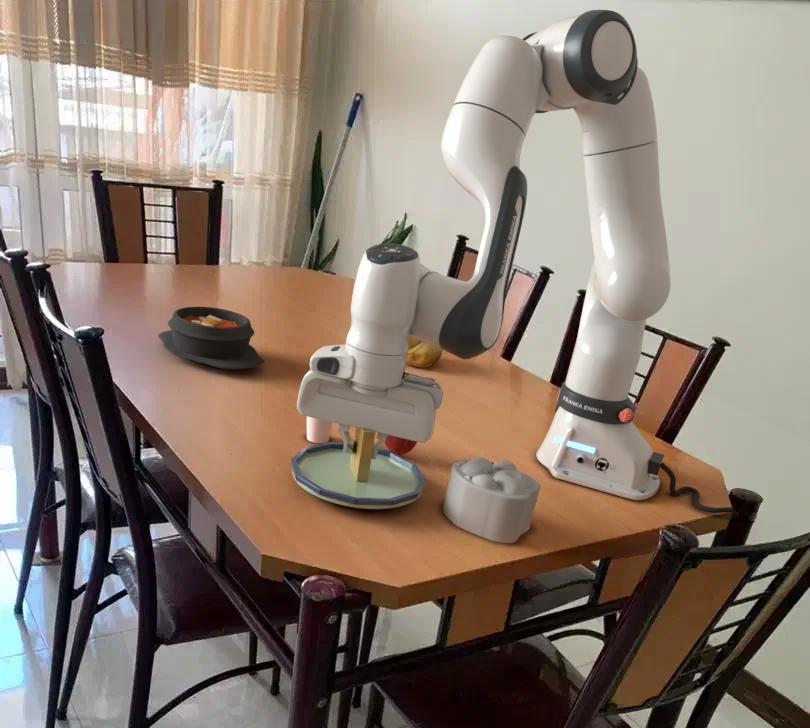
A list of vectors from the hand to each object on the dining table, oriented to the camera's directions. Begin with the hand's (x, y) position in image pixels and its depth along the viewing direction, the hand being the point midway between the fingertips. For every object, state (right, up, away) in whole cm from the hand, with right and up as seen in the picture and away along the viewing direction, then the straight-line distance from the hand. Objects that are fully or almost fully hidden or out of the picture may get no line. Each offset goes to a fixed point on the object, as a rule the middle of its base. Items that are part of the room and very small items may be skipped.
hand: (359, 454), depth 120 cm
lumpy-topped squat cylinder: (+18, -10, +1) cm, 21 cm away
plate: (0, -3, +2) cm, 4 cm away
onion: (+5, +1, +16) cm, 17 cm away
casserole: (-33, +25, +45) cm, 61 cm away
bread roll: (+10, +28, +67) cm, 73 cm away
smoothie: (-8, +4, +17) cm, 19 cm away
